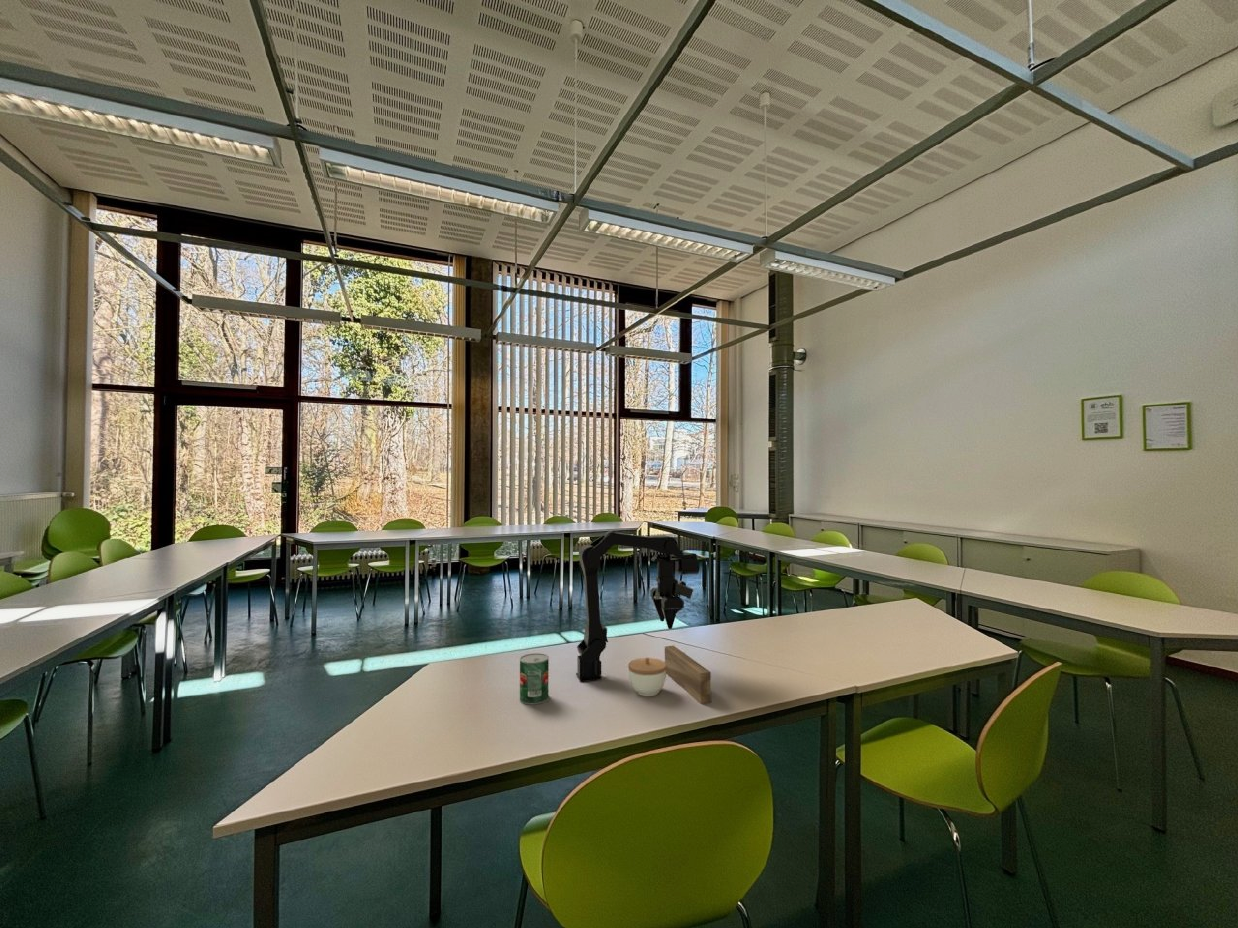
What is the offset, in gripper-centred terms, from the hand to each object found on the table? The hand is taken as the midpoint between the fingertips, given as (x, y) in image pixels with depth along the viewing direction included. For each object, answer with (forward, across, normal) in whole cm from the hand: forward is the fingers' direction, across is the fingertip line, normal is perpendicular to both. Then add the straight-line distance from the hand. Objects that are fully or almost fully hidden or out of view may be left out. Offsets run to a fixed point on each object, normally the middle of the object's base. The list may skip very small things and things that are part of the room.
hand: (666, 624), depth 159 cm
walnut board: (+14, -14, -2) cm, 20 cm away
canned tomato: (+15, -14, +41) cm, 46 cm away
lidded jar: (+14, -16, +10) cm, 23 cm away
